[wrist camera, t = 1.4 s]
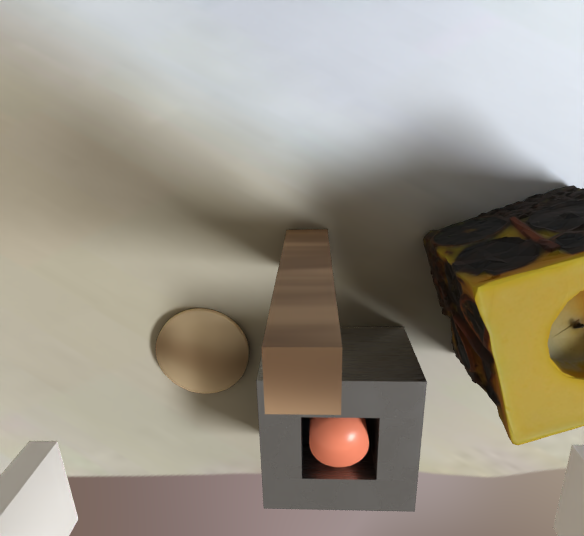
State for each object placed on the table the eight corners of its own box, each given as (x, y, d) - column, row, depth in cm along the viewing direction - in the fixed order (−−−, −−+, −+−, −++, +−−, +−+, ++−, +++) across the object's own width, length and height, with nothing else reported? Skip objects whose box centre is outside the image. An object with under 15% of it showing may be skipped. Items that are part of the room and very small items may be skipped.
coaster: (152, 308, 33) (149, 311, 32) (246, 308, 33) (245, 311, 32) (163, 388, 35) (161, 393, 35) (251, 389, 35) (250, 393, 34)
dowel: (286, 229, 31) (261, 347, 15) (327, 229, 30) (342, 347, 15) (287, 268, 31) (264, 414, 16) (327, 267, 31) (340, 414, 16)
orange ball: (309, 381, 32) (309, 418, 28) (363, 382, 31) (370, 419, 28) (309, 425, 33) (309, 466, 29) (361, 426, 33) (367, 467, 29)
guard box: (267, 326, 33) (256, 380, 26) (403, 326, 33) (426, 381, 26) (272, 436, 36) (263, 508, 30) (395, 437, 36) (414, 511, 29)
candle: (454, 355, 33) (509, 452, 24) (417, 233, 30) (463, 289, 21) (595, 313, 32) (714, 399, 22) (571, 179, 29) (697, 214, 19)
